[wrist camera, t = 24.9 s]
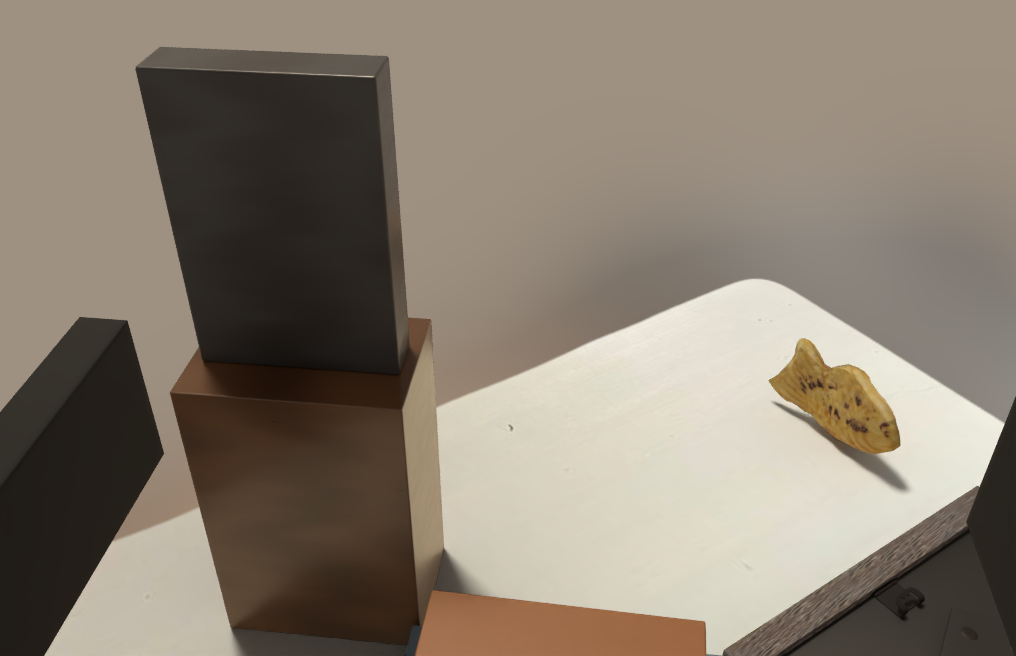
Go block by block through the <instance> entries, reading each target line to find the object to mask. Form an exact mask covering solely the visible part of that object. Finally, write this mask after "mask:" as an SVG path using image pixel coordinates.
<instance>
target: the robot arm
mask: <svg viewBox="0 0 1016 656" xmlns="http://www.w3.org/2000/svg"><path fill="white" fill-rule="evenodd" d="M163 454H164V452H163V448H162V444H161V441H160V437H159V433H158V430H157V426H156V423H155V419H154V415H153V412H152V408H151V405H150V401H149V397H148V394H147V390H146V387H145V383H144V379H143V376H142V372H141V368H140V365H139V361H138V357H137V354H136V351H135V347H134V343H133V339H132V336H131V332H130V328H129V325H128V321H127V320H113V319H99V318H84V317H79V319H78V320H77V321H76V322H75V323H74V325H73V326H72V327H71V328H70V329H69V331H68V332H67V333H66V335H64V337H63V338H62V339H61V340H60V341H59V343H58V344H57V345H56V346H55V347H54V349H53V350H52V351H51V352H50V353H49V355H48V356H47V357H46V358H45V359H44V360H43V362H42V363H41V364H40V365H39V367H38V368H37V369H36V370H35V371H34V372H33V374H32V375H31V376H30V377H29V378H28V380H27V381H26V382H25V383H24V385H23V386H22V387H21V388H20V389H19V390H18V392H17V393H16V394H15V395H14V396H13V398H12V399H11V400H10V401H9V402H8V404H7V405H6V406H5V407H4V408H3V409H2V411H1V412H0V656H44V655H45V653H46V652H47V650H48V648H49V647H50V645H51V643H52V642H53V640H54V638H55V637H56V635H57V633H58V631H59V630H60V628H61V626H62V625H63V623H64V621H65V620H66V618H67V616H68V615H69V613H70V611H71V610H72V608H73V606H74V604H75V603H76V601H77V599H78V598H79V596H80V594H81V593H82V591H83V589H84V588H85V586H86V584H87V583H88V581H89V579H90V577H91V576H92V574H93V572H94V571H95V569H96V567H97V566H98V564H99V562H100V561H101V559H102V557H103V556H104V554H105V552H106V551H107V549H108V547H109V545H110V544H111V542H112V540H113V539H114V537H115V535H116V534H117V532H118V530H119V529H120V527H121V525H122V524H123V522H124V520H125V518H126V517H127V515H128V513H129V512H130V510H131V508H132V507H133V505H134V503H135V501H136V500H137V498H138V497H139V495H140V493H141V491H142V490H143V488H144V486H145V485H146V483H147V481H148V480H149V478H150V476H151V475H152V473H153V471H154V470H155V468H156V466H157V465H158V463H159V461H160V459H161V458H162V456H163ZM966 523H967V526H968V529H969V531H970V534H971V537H972V540H973V542H974V545H975V548H976V551H977V553H978V556H979V559H980V562H981V564H982V567H983V570H984V573H985V576H986V578H987V581H988V584H989V587H990V589H991V592H992V595H993V598H994V600H995V603H996V606H997V609H998V612H999V614H1000V617H1001V620H1002V623H1003V625H1004V628H1005V631H1006V634H1007V636H1008V639H1009V642H1010V645H1011V648H1012V650H1013V653H1014V656H1016V397H1015V400H1014V402H1013V405H1012V407H1011V410H1010V412H1009V415H1008V417H1007V420H1006V422H1005V425H1004V427H1003V430H1002V432H1001V435H1000V437H999V440H998V442H997V445H996V447H995V450H994V452H993V455H992V457H991V460H990V463H989V465H988V468H987V470H986V473H985V475H984V478H983V480H982V483H981V485H980V488H979V490H978V493H977V495H976V498H975V500H974V503H973V505H972V508H971V510H970V513H969V515H968V518H967V520H966Z"/></svg>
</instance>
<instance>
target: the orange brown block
mask: <svg viewBox="0 0 1016 656" xmlns="http://www.w3.org/2000/svg"><path fill="white" fill-rule="evenodd" d="M415 656H706V627H705V622H704V621H695V620H687V619H678V618H669V617H661V616H652V615H644V614H635V613H626V612H618V611H609V610H600V609H592V608H583V607H575V606H566V605H557V604H549V603H540V602H531V601H523V600H514V599H506V598H497V597H488V596H480V595H471V594H462V593H454V592H445V591H437V590H432V592H431V595H430V599H429V603H428V607H427V611H426V614H425V618H424V622H423V626H422V630H421V634H420V637H419V641H418V645H417V649H416V653H415Z"/></svg>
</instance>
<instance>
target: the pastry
mask: <svg viewBox="0 0 1016 656" xmlns="http://www.w3.org/2000/svg"><path fill="white" fill-rule="evenodd" d="M769 382H770V383H771V385H772V387H773V388H774V389H775V390H776V392H777V393H778V394H779V395H780V396H781V397H783V398H784V399H785V400H786V401H789V402H792V403H794V404H795V405H797V406H798V407H800V408H801V409H802V410H803V411H805V412H807V413H810V414H811V415H812V416H813V417H814V418H815V420H816V421H817V422H818V423H819V424H820V425H821V426H822V427H823V428H824V429H825V430H826V431H827V432H828V433H830V434H831V435H832V436H834V437H835V438H836V439H837V440H840V441H842V442H844V443H846V444H848V445H849V446H851V447H853V448H856V449H858V450H860V451H863V452H865V453H869V454H878V453H883V452H889V451H894V450H895V449H896V448H898V447H899V446H900V435H899V430H898V427H897V423H896V419H895V416H894V414H893V411H892V410H891V408H890V406H889V405H888V403H887V402H886V400H885V399H884V398H883V397H882V396H881V395H880V394H879V393H878V391H877V390H876V389H875V387H874V386H873V384H872V383H871V381H870V378H869V376H868V375H867V374H866V373H865V372H864V371H863V370H861V369H859V368H857V367H855V366H852V365H849V364H847V365H842V366H837V367H833V368H830V367H829V366H827V365H825V364H824V361H823V359H822V357H821V355H820V353H819V352H818V350H817V349H816V347H815V346H814V344H813V343H812V342H811V341H809V340H807V339H803V338H801V339H800V340H799V341H798V342H797V346H796V350H795V355H794V356H793V358H792V360H791V361H790V362H789V364H788V365H787V366H786V367H785V368H784V369H783V370H782V371H781V372H780V373H779V374H778V375H777V376H775V377H774V378H772V379H770V380H769Z"/></svg>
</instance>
